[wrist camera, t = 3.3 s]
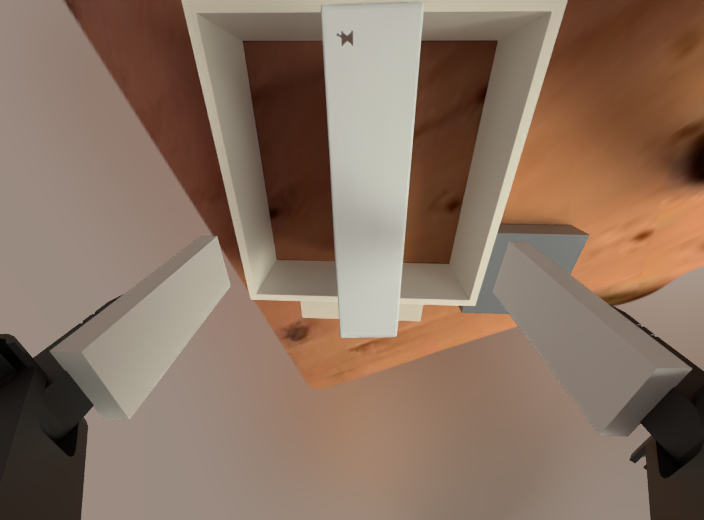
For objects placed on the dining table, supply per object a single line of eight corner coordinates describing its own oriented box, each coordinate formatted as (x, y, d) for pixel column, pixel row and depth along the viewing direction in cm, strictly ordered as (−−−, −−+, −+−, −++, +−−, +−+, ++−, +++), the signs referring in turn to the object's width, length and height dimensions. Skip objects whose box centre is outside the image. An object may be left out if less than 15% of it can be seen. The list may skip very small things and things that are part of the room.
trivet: (474, 223, 33) (483, 232, 30) (571, 225, 33) (589, 234, 30) (455, 299, 39) (461, 312, 36) (537, 301, 39) (550, 315, 36)
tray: (226, -7, 23) (168, -58, 16) (518, -9, 23) (587, -63, 16) (274, 279, 38) (254, 316, 31) (450, 283, 38) (470, 322, 31)
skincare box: (384, 252, 36) (397, 340, 22) (344, 252, 36) (332, 339, 22) (392, 59, 25) (428, -6, 11) (336, 61, 26) (305, 0, 12)
